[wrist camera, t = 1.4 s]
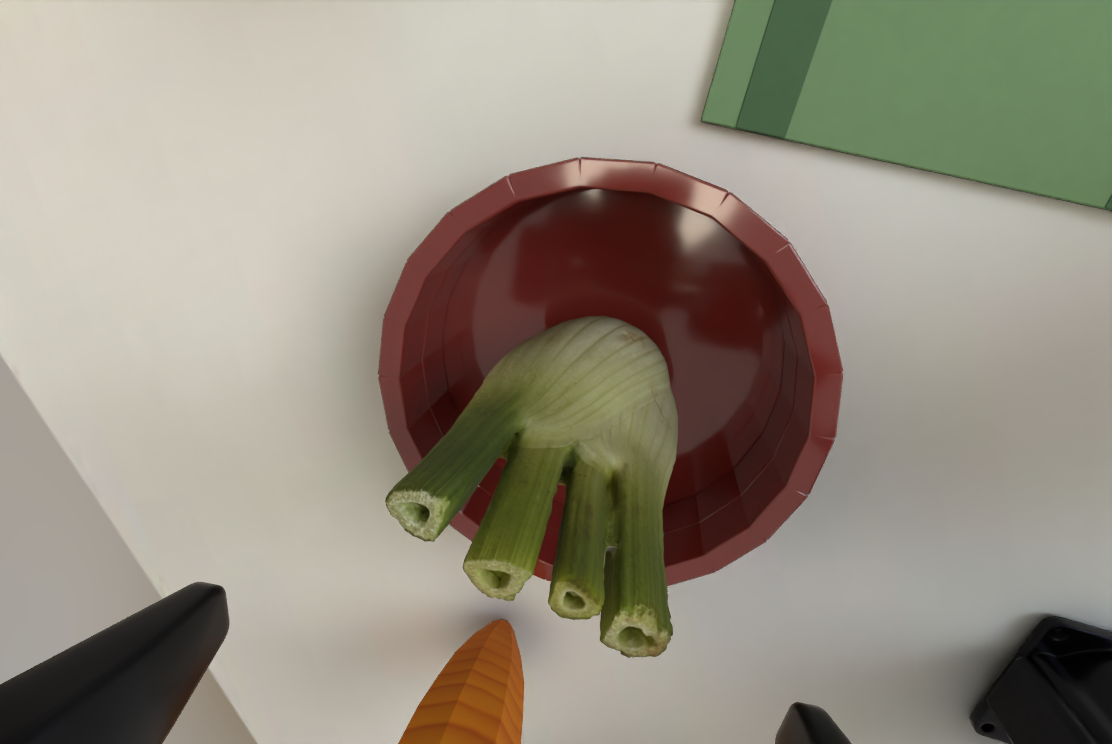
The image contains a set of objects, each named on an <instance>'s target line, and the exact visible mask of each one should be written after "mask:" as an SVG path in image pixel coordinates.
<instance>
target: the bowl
mask: <svg viewBox="0 0 1112 744" xmlns="http://www.w3.org/2000/svg"><path fill="white" fill-rule="evenodd" d="M587 316H607V317H610V318H615V319H619V320H622V321H624V322H626V323H628V324H631V325H632V326H634V327H636V328H638V329H640V330H642V331H643V332H644V333H645V334H646V335H647V336H648V337H649V338H650V339H651V340H652V341H653V342H654V343H655V344H656V345H657V346H658V348H659V349H660V351H661V353H662V355H663V356H664V358H665V361H666V363H667V367H668V373H669V379H670V386H671V390H672V393H673V397H674V400H675V404H676V409H677V414H678V441H677V452H676V461H675V463H674V465H673V470H672V473H671V476H670V480H669V482H668V486H667V490H666V494H665V499H664V505H663V509H662V519H663V533H664V537H663V544H664V545H663V547H664V551H663V558H664V566H665V571H666V582H667V586H670V585H673V584H677V583H680V582H684V581H687V580H690V579H694V578H697V577H701V576H704V575H708V574H711V573H714V572H715V571H718V570H720V569H722V568H723V567H725V566H727V565H728V564H730V563H732V562H733V561H735V560H737V559H738V558H740V557H742V556H743V555H745V554H747V553H748V552H750V551H752V550H753V549H755V548H757V547H758V546H760V545H762V544H763V543H765V542H766V541H767V540H768V539H769V538H770V537H771V536H772V535H773V534H774V533H775V532H776V531H777V530H778V528H779V527H780V526H781V525H782V524H783V523H784V522H785V521H786V520H787V519H788V518H789V517H790V515H791V514H792V513H793V512H794V511H795V510H796V509H797V508H798V507H799V506H800V505H801V504H802V502H803V501H804V500H805V499H806V498H807V496H808V495H809V494H810V492H811V489H812V487H813V485H814V483H815V481H816V479H817V477H818V475H819V472H820V470H821V468H822V466H823V464H824V462H825V460H826V458H827V455H828V453H829V451H830V449H831V447H832V445H833V443H834V438H835V437H836V433H837V424H838V415H839V407H840V398H841V389H842V381H843V373H842V372H843V368H842V363H841V359H840V354H839V350H838V345H837V341H836V336H835V332H834V327H833V323H832V318H831V314H830V309H829V306H828V305H827V301H826V299H825V298H824V296H823V294H822V293H821V291H820V290H819V288H818V286H817V285H816V283H815V282H814V280H813V278H812V277H811V275H810V273H809V272H808V270H807V269H806V267H805V265H804V264H803V262H802V260H801V259H800V257H799V256H798V254H797V252H796V251H795V249H794V248H793V246H792V244H791V243H790V242H788V239H787V238H786V237H784V236H783V235H782V234H781V233H780V232H778V231H777V230H776V229H775V228H774V227H772V226H771V225H770V224H769V223H768V222H766V221H765V220H764V219H763V218H761V217H760V216H759V215H758V214H757V213H755V212H754V211H753V210H752V209H751V208H749V207H748V206H747V205H746V204H745V203H743V202H742V201H741V200H740V199H739V198H737V197H736V196H735V195H734V194H733V193H731V192H728V191H727V190H726V189H723V188H721V187H718V186H716V185H713V184H711V183H708V182H706V181H703V180H700V179H698V178H695V177H693V176H690V175H688V174H685V173H683V172H680V171H678V170H675V169H673V168H670V167H668V166H665V165H663V164H660V163H657V164H656V163H655V162H648V161H634V160H619V159H605V158H590V157H581V158H573V159H569V160H565V161H561V162H557V163H552V164H548V165H544V166H540V167H536V168H532V169H528V170H524V171H520V172H516V173H512V174H510V175H509V176H505V177H503V178H501V179H500V180H498V181H496V182H495V183H493V184H492V185H490V186H488V187H487V188H485V189H483V190H482V191H480V192H479V193H477V194H475V195H474V196H472V197H471V198H469V199H467V200H466V201H464V202H462V203H461V204H459V205H458V206H456V207H454V208H453V209H451V211H450V212H447V213H446V214H445V216H444V217H443V218H442V219H441V220H440V222H439V223H438V224H437V225H436V226H435V227H434V229H433V230H432V231H431V232H430V233H429V234H428V236H427V237H426V238H425V239H424V240H423V242H422V243H421V244H420V245H419V246H418V247H417V249H416V250H415V251H414V252H413V253H412V255H411V256H410V257H409V258H408V259H407V262H406V264H405V266H404V268H403V271H402V273H401V276H400V278H399V280H398V283H397V285H396V288H395V290H394V293H393V295H392V297H391V300H390V302H389V305H388V307H387V309H386V312H385V314H384V317H385V318H384V319H383V326H382V337H381V348H380V359H379V369H378V375H379V384H380V389H381V394H382V399H383V404H384V409H385V415H386V420H387V425H388V429H389V430H390V431H389V434H390V436H391V438H392V440H393V442H394V444H395V446H396V448H397V450H398V452H399V454H400V456H401V458H402V460H403V462H404V464H405V466H406V468H407V471H408V473H409V472H410V471H411V470H412V469H413V468H414V467H415V466H416V465H417V464H418V463H419V462H420V461H421V460H422V459H423V458H424V457H425V456H426V455H427V454H428V453H429V452H430V450H431V449H432V448H433V447H434V446H435V445H436V444H437V443H438V442H439V440H440V439H441V438H442V437H444V436H445V435H446V434H447V432H448V431H449V430H450V429H451V427H452V426H453V425H454V423H455V422H456V420H457V419H458V417H459V416H460V415H461V414H462V412H463V411H464V409H465V408H466V406H467V405H468V404H469V403H470V401H471V400H472V398H473V397H474V395H475V393H476V392H477V391H478V390H479V388H480V387H481V385H482V384H483V380H484V379H485V378H486V377H487V375H488V373H489V372H490V371H491V370H492V369H493V368H494V366H495V365H496V364H497V363H498V362H499V361H500V360H501V359H502V358H503V357H504V356H505V355H507V354H508V353H509V352H510V351H511V350H512V349H514V348H515V347H516V346H518V345H519V344H520V343H522V342H524V341H525V340H527V339H529V338H531V337H533V336H535V335H537V334H539V333H541V332H543V331H545V330H547V329H549V328H551V327H553V326H555V325H558V324H560V323H562V322H565V321H568V320H572V319H577V318H583V317H587ZM506 464H507V460H506V459H504V458H498V459H497V460H496V461H495V463H494V465H493V466H492V467H491V469H490V470H489V471H488V473H487V474H486V476H485V477H484V478H483V480H482V481H481V483H480V484H479V485H478V486H477V488H476V489H475V491H474V492H473V493H472V495H471V496H470V497H469V499H468V500H467V501H466V503H465V504H464V505H463V506H462V508H461V509H460V511H459V512H458V513H457V514H456V515H455V516H454V518H453V519H452V520H451V521H450V523H449V524H450V526H452V527H453V528H454V529H456V530H457V531H458V532H460V533H461V534H462V535H464V536H465V537H467V538H468V539H469V540H471V541H472V540H473V539H474V537H475V535H476V532H477V530H478V529H479V527H480V522H481V521H482V518H483V517H484V515H485V513H486V509H487V507H488V506H489V504H490V502H491V499H492V497H493V495H494V492H495V490H496V487H497V485H498V482H499V479H500V477H501V474H502V470H503V468H504V466H505V465H506ZM565 491H566V486H564V485H558V484H557V492H556V493H555V495H554V497H553V501H552V509H551V511H552V512H551V515H550V517H549V520H548V523H547V526H546V531H545V535H544V539H543V542H542V544H541V549H540V552H539V556H538V559H537V563H536V566H535V569H534V574H533V575H535V576H537V577H539V578H542V579H544V580H545V579H546V580H547V581H552V568H553V564H554V562H555V557H556V549H557V542H558V535H559V528H560V525H561V518H562V511H563V508H564V502H565Z"/></svg>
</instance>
